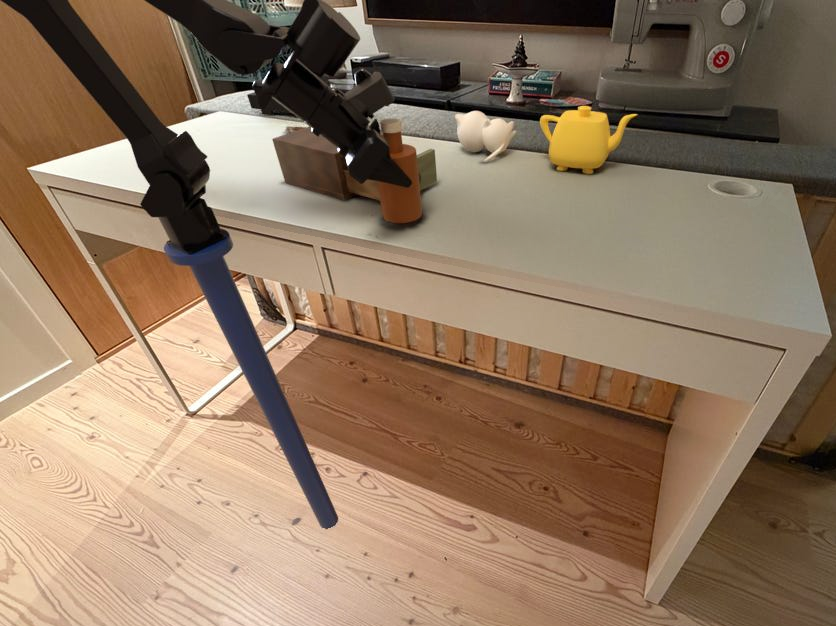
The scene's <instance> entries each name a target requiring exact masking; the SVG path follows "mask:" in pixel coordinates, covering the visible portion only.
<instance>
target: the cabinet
mask: <svg viewBox="0 0 836 626" xmlns="http://www.w3.org/2000/svg"><path fill="white" fill-rule="evenodd" d="M380 134H381V136H382V137H383V138H384V136H383V132H382V131H381V129H380ZM271 140H272V142H273V146H274V150H275V153H276V157H277V161H278V163H279V168H280V170H281V173H282V176H283V180H284V183H285V184H287V185H290V186H295V187H298V188H301V189H305V190H308V191H311V192H315V193H319V194H321V195H324V196H328V197H332V198H335V199H337V200H342V201H347V200H349V199H352V198H353V197H355V196H357V195H358V194H355V193H352V192H348V191H347V188H346V183H345V178H344V174H343V169H342V164H341V160H340V158H342V157H344V156H343V155H342V154H340V153H339V152H338V149H337V147H336V146H335V145H333V144H332V143H331V142H330V141H328V140H327V139H326V138H324V137H323V136H322V135H319V137H318V136H316V135H315V134H314V133H312V132H311V127H310V126H309V125H308V126H306V128H303V129H300V130H297V131H294V132H288V133H286V134H282V135H279V136H277V137H274V138H271ZM349 152H350V150H349V151H348V153H349ZM348 153H347V154H346V155H345V156H347V155H348Z"/></svg>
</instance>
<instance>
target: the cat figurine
mask: <svg viewBox="0 0 836 626" xmlns="http://www.w3.org/2000/svg"><path fill="white" fill-rule="evenodd" d="M454 119H455V121H456V124H457V129H456V134H457V139H458V141H459V143H460V145H461V146H462V147H463V148H464V149H465V150H467V151H468V152H470V153H479V152H480V151H483V150H484V149H486V150H487V151H488V152H490V153H491V154H489V155H488V156H487V157H486V158H485V159H484V160H483V163H485V164H486V163H488V162H490V161H492V160H493V159H495V158H496V157H497V156H498V155H499V154H502V153H503V152H505V150H506V149H507V148H508V147H509V144H510V143H511V140H512V139H513V138H514V137H515V136H516V134H517V130H513V129H514V126H515V121H514V120H512V121H510V122H506V121H505V120H504V118H500V117H496V118H492V119H490V118H488V116H487V115H486V114H485V113H484V112H482V111H480V110H472V111H470V112H467V113H457V114H455V115H454Z"/></svg>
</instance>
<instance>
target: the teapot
mask: <svg viewBox="0 0 836 626" xmlns="http://www.w3.org/2000/svg"><path fill="white" fill-rule="evenodd" d="M636 116H638V113H631V114H626V115H624V116H622V118H621V119H620V121H619V123H618V125H617V128H616V131H615V132H614V134H612V135H611V129H610V122H609V118H608V115H607V113H605V112H600V111H593V110H592V107H591V106H589V105H579V106H578V107H577V110H576V109H570V110H569V109H568V110H566V111H564V112H563V113H562V114H561V115H560V116H556V115H552V114H543V115H541V117H540V118H539V123H540V127H541V130H542V132H543V134H544V136H545V137H546V139H547V140H548V142H549V147H548V156H549V159H550V161H551V163H552V164H554V165H556V166H557V167H556V170H557V171H560V172H565V171H568V169H569V168H572V169H573V168H574V169H582V173H583V174H587V175H591V174H594V169H598V168H601V166H603V164H604V163H605V161H606V160H607V159H608V156H609V155H610V153H611V152H613V151H615V149H617V147H618V146H619V145H620V143H621V142H622V139H623V136H624V133H625V131H626V130H625V129H626V127H627V125H628V124H629V122H630V120H632V119H633V118H634V117H636ZM549 122H555V123H556V125H555V128H554V130H553V132H552V133H551V131H550V126H549Z"/></svg>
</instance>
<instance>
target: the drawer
mask: <svg viewBox="0 0 836 626" xmlns="http://www.w3.org/2000/svg"><path fill="white" fill-rule="evenodd" d="M416 155H417V165H418V176H419V186H420V192H421V191H423V190H424V189H427V188H428V187H430V186H432V185H434V184H435V183H437V182H438V175H437V173H438V172H437V162H436V150H435V149H434V148H429V149H427V150H424V151H422V152H420V153H418V154H416ZM340 160H341V164H342V169H343V174H344V178H345V183H346V188H347V191H348V192H352V193H355V194H357V195H359V196H362V197H366V198H369V199H373V200H375V201H376V200H377V201H380V196H379V189H378V183H377V181H373V180H366V181H365V182H364V183H363V184H360V183H359V182H358V181H356V180H355V179H354V178H352V177H351V176H350V175H349V171H348V167H347V162H346V156H345V157H342V158H340Z"/></svg>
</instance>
